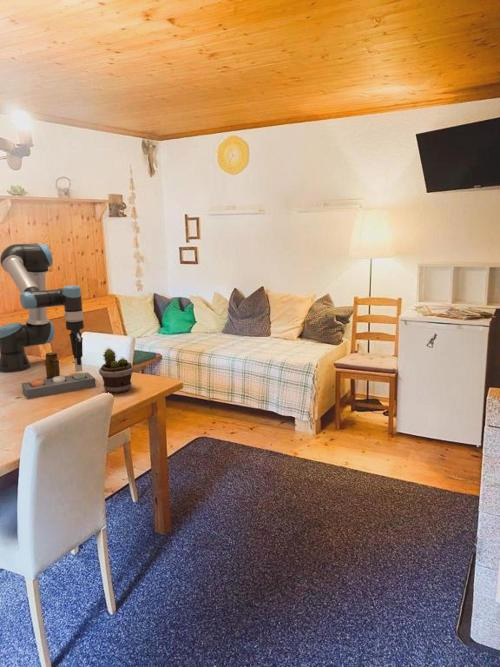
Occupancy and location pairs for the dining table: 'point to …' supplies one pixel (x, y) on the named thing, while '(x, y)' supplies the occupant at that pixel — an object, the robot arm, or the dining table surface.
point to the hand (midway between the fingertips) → (79, 371)
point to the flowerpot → (116, 373)
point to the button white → (58, 379)
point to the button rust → (37, 383)
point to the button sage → (79, 376)
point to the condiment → (52, 365)
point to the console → (58, 386)
